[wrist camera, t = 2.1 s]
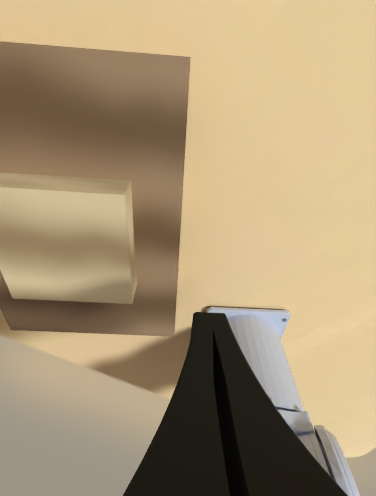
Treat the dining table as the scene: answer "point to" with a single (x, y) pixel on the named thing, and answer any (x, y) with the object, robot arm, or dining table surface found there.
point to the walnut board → (101, 165)
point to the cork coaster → (67, 238)
